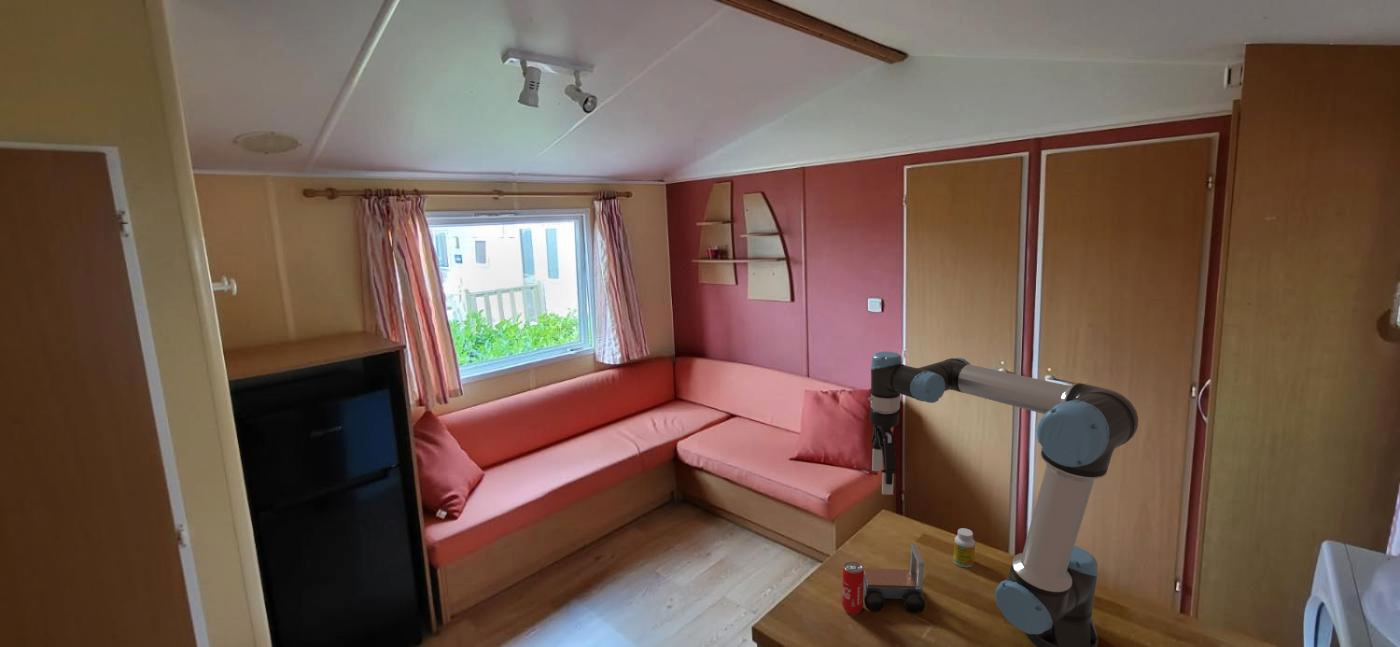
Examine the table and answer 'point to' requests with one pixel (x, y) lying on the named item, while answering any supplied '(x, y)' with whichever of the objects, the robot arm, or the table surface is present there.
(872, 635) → the table surface
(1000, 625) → the table surface
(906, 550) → the table surface
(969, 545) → the supplement bottle
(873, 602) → the trolley
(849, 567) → the beverage can
